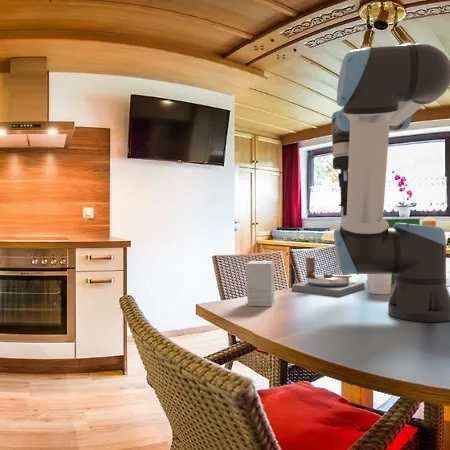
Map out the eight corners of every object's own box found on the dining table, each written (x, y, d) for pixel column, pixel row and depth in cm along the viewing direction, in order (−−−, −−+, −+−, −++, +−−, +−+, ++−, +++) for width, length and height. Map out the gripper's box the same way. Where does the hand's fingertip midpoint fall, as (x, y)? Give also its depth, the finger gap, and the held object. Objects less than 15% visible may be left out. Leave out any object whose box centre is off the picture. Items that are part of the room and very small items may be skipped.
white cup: (388, 290, 132) (387, 261, 132) (395, 295, 124) (395, 263, 124) (364, 290, 133) (363, 261, 133) (370, 295, 125) (369, 264, 125)
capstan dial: (347, 279, 143) (346, 255, 142) (356, 286, 129) (356, 259, 128) (304, 280, 144) (303, 255, 144) (308, 286, 130) (308, 259, 130)
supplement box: (274, 301, 119) (274, 260, 119) (271, 307, 112) (270, 263, 112) (251, 300, 121) (250, 260, 121) (246, 306, 114) (245, 263, 114)
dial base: (339, 296, 124) (338, 289, 124) (292, 290, 136) (291, 283, 136) (364, 288, 136) (364, 282, 136) (319, 283, 149) (319, 277, 149)
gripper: (332, 160, 141) (333, 225, 141) (332, 154, 129) (334, 225, 128) (354, 159, 139) (355, 225, 139) (356, 152, 127) (358, 225, 126)
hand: (345, 225), depth 134 cm, fingers closed
